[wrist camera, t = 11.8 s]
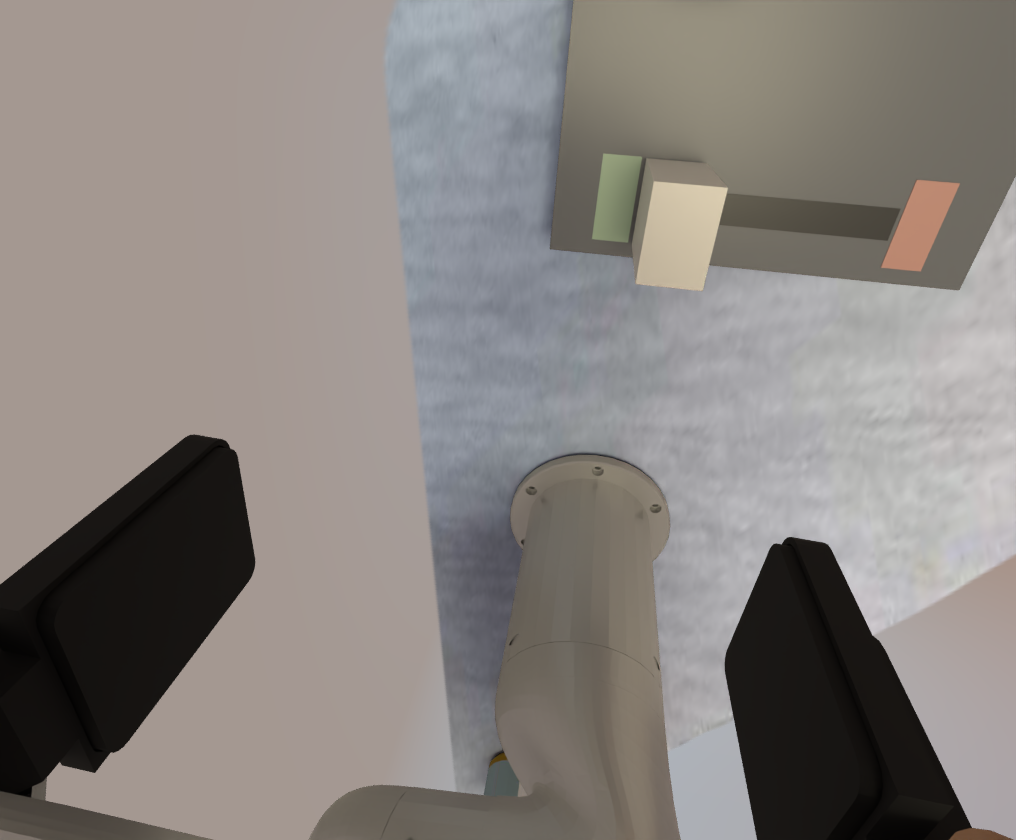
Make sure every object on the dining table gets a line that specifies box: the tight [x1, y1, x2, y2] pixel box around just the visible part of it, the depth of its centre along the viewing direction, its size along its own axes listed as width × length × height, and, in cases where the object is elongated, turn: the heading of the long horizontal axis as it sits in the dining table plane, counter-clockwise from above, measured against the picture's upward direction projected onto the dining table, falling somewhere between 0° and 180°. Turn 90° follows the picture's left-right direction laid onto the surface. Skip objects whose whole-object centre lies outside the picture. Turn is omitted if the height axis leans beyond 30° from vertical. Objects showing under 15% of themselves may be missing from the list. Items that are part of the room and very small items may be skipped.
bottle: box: [484, 753, 519, 797], centre depth 62 cm, size 7×7×15 cm
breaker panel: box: [550, 0, 1016, 290], centre depth 28 cm, size 18×22×3 cm
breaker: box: [632, 158, 728, 291], centre depth 28 cm, size 4×3×7 cm
